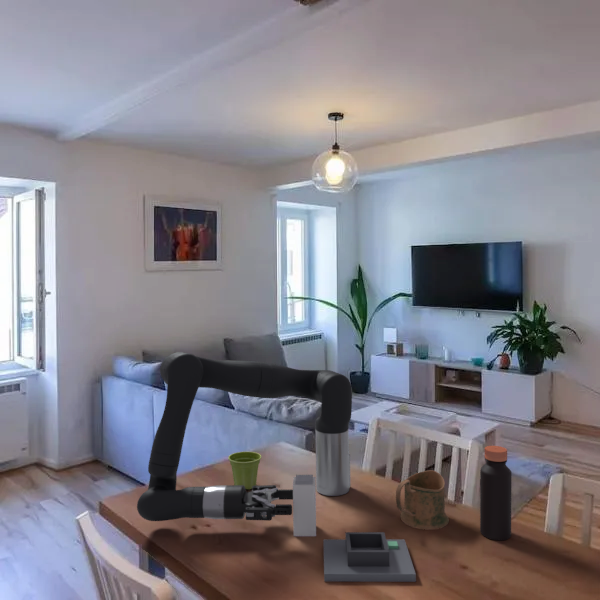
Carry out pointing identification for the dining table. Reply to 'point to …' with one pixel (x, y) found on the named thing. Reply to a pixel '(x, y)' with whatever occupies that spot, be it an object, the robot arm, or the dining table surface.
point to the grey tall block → (304, 505)
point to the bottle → (495, 495)
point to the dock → (367, 559)
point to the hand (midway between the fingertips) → (293, 501)
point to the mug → (423, 501)
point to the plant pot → (245, 468)
